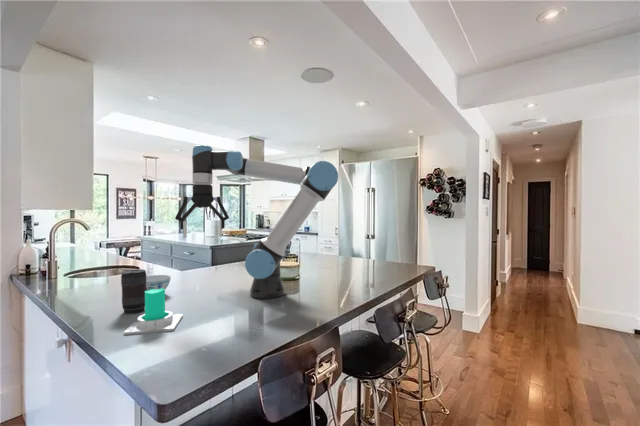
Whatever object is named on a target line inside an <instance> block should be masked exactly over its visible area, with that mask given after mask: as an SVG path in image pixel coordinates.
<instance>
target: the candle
mask: <svg viewBox="0 0 640 426" xmlns="http://www.w3.org/2000/svg"><path fill="white" fill-rule="evenodd" d="M165 311H166V289H163V288H162V289H151V290H148V291H145V310H144V314H145V320H156V319H160V318H164V317H165Z"/></svg>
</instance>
